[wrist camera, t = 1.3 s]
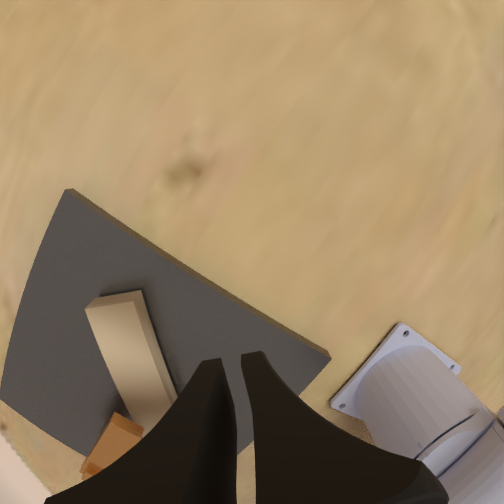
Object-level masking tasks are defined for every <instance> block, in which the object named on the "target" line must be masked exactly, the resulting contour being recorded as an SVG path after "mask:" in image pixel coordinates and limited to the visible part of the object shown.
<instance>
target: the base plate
mask: <svg viewBox="0 0 504 504" xmlns="http://www.w3.org/2000/svg"><path fill="white" fill-rule="evenodd" d="M139 290H141V292H142V295H143V299H144V302H145V305H146V309H147V312H148V315H149V318H150V321H151V324H152V327H153V330H154V333H155V336H156V339H157V342H158V345H159V348H160V351H161V354H162V357H163V360H164V362H165V365H166V368H167V371H168V373H169V376H170V379H171V381H172V384H173V386H174V389H175V392H176V394H177V397H178V396H179V395H180V393H181V392H182V390H183V389H184V387H185V386H186V384H187V383H188V381H189V380H190V378H191V377H192V375H193V374H194V372H195V370H196V369H197V367H198V366H199V364H200V363H201V361H203V360H210V359H216V358H221V359H222V363H223V366H224V370H225V374H226V377H227V381H228V384H229V388H230V391H231V395H232V398H233V402H234V405H235V414H236V423H237V455H238V454H239V453H240V452H241V451H242V450H243V449H245V448H246V447H247V446H248V445H249V444H250V443H251V442H252V441H253V440H254V432H253V418H252V410H251V405H250V401H249V397H248V393H247V389H246V385H245V381H244V377H243V373H242V369H241V354H246V353H251V352H256V351H262V352H264V353H265V355H266V357H267V359H268V361H269V363H270V364H271V366H272V367H273V369H274V370H275V371H276V373H277V374H278V375H279V377H280V378H281V379H282V380H283V381H284V382H285V383H286V385H287V386H288V387H289V388H290V389H291V390H292V391H293V392H294V393H295V394H296V395H297V396H299V395H300V393H301V392H302V391H303V390H304V389H305V388H306V387H307V386H308V385H309V384H310V383H311V382H312V381H313V379H314V378H315V377H316V376H317V375H318V374H319V373H320V372H321V371H322V369H323V368H324V367H325V366H326V365H327V364H328V363H329V361H330V360H331V359H332V358H331V356H330V355H329V353H328V351H327V350H325V349H323V348H321V347H320V346H318V345H316V344H314V343H313V342H311V341H309V340H308V339H306V338H304V337H302V336H301V335H299V334H297V333H296V332H294V331H292V330H290V329H289V328H287V327H285V326H284V325H282V324H280V323H279V322H277V321H275V320H274V319H272V318H270V317H269V316H267V315H265V314H264V313H262V312H260V311H259V310H257V309H255V308H254V307H252V306H250V305H249V304H247V303H245V302H244V301H242V300H241V299H239V298H237V297H236V296H234V295H232V294H231V293H229V292H228V291H226V290H224V289H223V288H221V287H220V286H218V285H216V284H215V283H213V282H212V281H210V280H208V279H207V278H205V277H204V276H202V275H201V274H199V273H197V272H196V271H194V270H193V269H191V268H190V267H188V266H186V265H185V264H183V263H182V262H180V261H179V260H177V259H176V258H174V257H173V256H171V255H170V254H168V253H166V252H165V251H163V250H162V249H160V248H159V247H157V246H156V245H154V244H153V243H151V242H150V241H148V240H147V239H145V238H144V237H142V236H141V235H139V234H138V233H136V232H135V231H133V230H132V229H130V228H129V227H127V226H126V225H125V224H123V223H122V222H120V221H119V220H117V219H116V218H114V217H113V216H111V215H110V214H108V213H107V212H106V211H104V210H103V209H101V208H100V207H98V206H97V205H96V204H94V203H93V202H91V201H90V200H88V199H87V198H86V197H84V196H83V195H81V194H80V193H79V192H77V191H76V190H74V189H73V188H72V189H65V191H64V193H63V195H62V197H61V199H60V201H59V203H58V205H57V208H56V210H55V212H54V214H53V216H52V219H51V221H50V223H49V226H48V228H47V230H46V233H45V235H44V237H43V240H42V242H41V245H40V247H39V250H38V253H37V255H36V258H35V260H34V263H33V266H32V269H31V272H30V274H29V277H28V280H27V283H26V286H25V289H24V292H23V295H22V299H21V302H20V305H19V309H18V312H17V316H16V319H15V323H14V327H13V330H12V334H11V338H10V342H9V347H8V351H7V356H6V360H5V365H4V370H3V376H2V381H1V387H0V399H1V400H2V401H3V402H5V403H6V404H7V405H8V406H10V407H11V408H12V409H14V410H15V411H16V412H18V413H19V414H20V415H22V416H23V417H24V418H26V419H27V420H29V421H30V422H31V423H33V424H34V425H36V426H37V427H39V428H40V429H42V430H43V431H45V432H46V433H48V434H49V435H51V436H52V437H54V438H55V439H57V440H59V441H60V442H62V443H63V444H65V445H67V446H68V447H70V448H72V449H73V450H75V451H77V452H79V453H80V454H82V455H84V456H86V459H85V461H84V462H83V465H82V467H81V470H80V473H82V474H83V476H82V480H84V481H85V480H87V479H88V478H90V477H92V476H93V475H95V474H97V473H98V472H100V471H101V470H103V469H104V468H106V467H107V466H109V465H110V464H112V463H113V462H115V461H116V460H117V459H118V458H120V457H121V456H122V455H123V454H125V453H126V452H127V451H128V450H130V449H131V448H132V447H133V446H135V445H136V444H137V443H138V442H139V441H140V440H141V439H142V434H143V430H144V427H142V426H140V425H138V424H136V423H135V422H134V421H133V419H132V417H131V415H130V413H129V411H128V409H127V407H126V405H125V403H124V401H123V399H122V397H121V395H120V393H119V391H118V389H117V387H116V385H115V383H114V380H113V378H112V376H111V374H110V372H109V369H108V367H107V365H106V362H105V360H104V358H103V355H102V353H101V351H100V348H99V346H98V343H97V341H96V338H95V336H94V333H93V330H92V328H91V325H90V322H89V320H88V317H87V314H86V311H85V308H86V307H87V306H88V305H89V304H90V303H91V302H92V301H93V300H94V299H95V298H98V297H104V296H110V295H116V294H122V293H127V292H133V291H139Z"/></svg>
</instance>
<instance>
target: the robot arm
mask: <svg viewBox="0 0 504 504" xmlns="http://www.w3.org/2000/svg"><path fill="white" fill-rule="evenodd" d="M405 331H407V332H406V333H405V334H404V335H403V333H404V332H405ZM241 369H242V373H243V377H244V381H245V385H246V389H247V393H248V397H249V401H250V405H251V410H252V418H253V432H254V449H255V473H256V504H504V406H502V407H501V408H500V409H499V411H498V412H497V415H496V414H495V413H493V412H492V411H491V410H489V409H488V408H487V406H486V405H485V404H484V403H483V402H482V401H481V400H480V399H479V398H478V397H477V396H476V395H475V394H474V393H473V392H472V391H471V390H470V389H469V388H468V387H467V386H466V385H465V384H464V383H463V382H462V381H461V380H460V379H459V378H458V377H457V375H458V374H459V373H460V371H461V366H460V365H459V364H457V363H456V362H455V361H453V360H452V359H451V358H450V357H448V356H447V355H446V354H444V353H443V352H442V351H441V350H439V349H438V348H437V347H435V346H434V345H433V344H431V343H430V342H429V341H427V340H426V339H425V338H423V337H422V336H421V335H420V334H418V333H417V332H416V331H414V330H413V329H412V328H410V327H409V326H408V325H406V324H405V323H403V322H400V323H398V324H397V325H396V326H395V327H394V328H393V330H392V331H391V332H390V333H389V335H388V336H387V337H386V338H385V340H384V341H383V342H382V343H381V344H380V346H379V347H378V348H377V349H376V350H375V352H374V353H373V354H372V355H371V356H370V358H369V359H368V360H367V361H366V362H365V363H364V364H363V366H362V367H361V368H360V369H359V370H358V371H357V372H356V374H355V375H354V376H353V377H352V378H351V379H350V380H349V381H348V382H347V383H346V385H345V386H344V387H343V388H342V389H341V390H340V391H339V392H338V393H337V394H336V395H335V396H334V397H333V398H332V399H331V401H330V405H331V407H332V408H333V409H336V410H338V411H340V412H343V413H345V414H347V415H350V416H352V417H355V418H357V419H360V420H362V421H364V423H365V425H366V427H367V429H368V431H369V433H370V435H371V437H372V439H373V441H374V443H375V445H376V446H377V447H376V446H374V445H371V444H369V443H367V442H365V441H363V440H361V439H359V438H357V437H355V436H353V435H351V434H349V433H348V432H346V431H344V430H342V429H340V428H338V427H337V426H335V425H334V424H332V423H331V422H329V421H328V420H326V419H325V418H323V417H322V416H321V415H319V414H318V413H317V412H315V411H314V410H313V409H312V408H310V407H309V406H308V405H307V404H306V403H305V402H303V401H302V400H301V399H300V398H299V397H298V396H297V395H296V394H295V393H294V392H293V391H292V390H291V389H290V388H289V387H288V386H287V385H286V383H285V382H284V381H283V380H282V379H281V378H280V377H279V375H278V374H277V373H276V371H275V370H274V369H273V367H272V366H271V364H270V363H269V361H268V359H267V357H266V355H265V353H264V352H262V351H256V352H251V353H246V354H241ZM341 404H343V405H341ZM340 405H341V406H340ZM236 470H237V423H236V414H235V405H234V402H233V398H232V395H231V391H230V388H229V384H228V381H227V377H226V374H225V370H224V366H223V363H222V359H221V358H216V359H210V360H203V361H201V363H200V364H199V366H198V367H197V369H196V370H195V372H194V374H193V375H192V377H191V378H190V380H189V381H188V383H187V384H186V386H185V387H184V389H183V390H182V392H181V393H180V395H179V396H178V397H177V399H176V400H175V402H174V403H173V404H172V406H171V407H170V408H169V409H168V411H167V412H166V413H165V414H164V416H163V417H162V418H161V419H160V421H159V422H158V423H157V424H156V425H155V426H154V427H153V428H152V429H151V431H149V432H148V433H147V434H146V435H145V436H144V437H143V438H142V439H141V440H140V441H139V442H138V443H137V444H136V445H135V446H133V447H132V448H131V449H130V450H128V451H127V452H126V453H125V454H123V455H122V456H121V457H120V458H118V459H117V460H116V461H115V462H113V463H112V464H110V465H109V466H107V467H106V468H104V469H103V470H101V471H100V472H98V473H97V474H95V475H93V476H92V477H90V478H88V479H87V480H85V481H83V482H81V483H79V484H77V485H75V486H73V487H71V488H69V489H67V490H64V491H62V492H60V493H58V494H55V495H53V496H51V497H48V498H46V500H45V502H44V504H237V499H236Z"/></svg>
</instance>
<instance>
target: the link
mask: <svg viewBox="0 0 504 504" xmlns="http://www.w3.org/2000/svg"><path fill="white" fill-rule="evenodd" d="M85 311H86V314H87V317H88V320H89V322H90V325H91V328H92V330H93V333H94V336H95V338H96V341H97V343H98V346H99V348H100V351H101V353H102V355H103V358H104V360H105V362H106V365H107V367H108V369H109V372H110V374H111V376H112V378H113V380H114V383H115V385H116V387H117V389H118V391H119V393H120V395H121V397H122V399H123V401H124V403H125V405H126V407H127V409H128V411H129V413H130V415H131V417H132V419H133V421H134V422H135V423H136V424H138V425H140V426H142V427H144V430H143V434H142V438H143V437H144V436H145V435H146V434H147V433H148V432H149V431H151V429H152V428H153V427H154V426H155V425H156V424H157V423H158V422H159V421H160V419H161V418H162V417H163V416H164V414H165V413H166V412H167V411H168V409H169V408H170V407H171V406H172V404H173V403H174V402H175V400H176V399H177V394H176V392H175V389H174V386H173V384H172V381H171V379H170V376H169V373H168V371H167V368H166V365H165V362H164V360H163V357H162V354H161V351H160V348H159V345H158V342H157V339H156V336H155V333H154V330H153V327H152V324H151V321H150V318H149V315H148V312H147V309H146V305H145V302H144V299H143V295H142V292H141V290H139V291H133V292H127V293H122V294H116V295H110V296H104V297H98V298H95V299H94V300H93V301H92V302H91V303H90V304H89V305H88V306H87V307H86V308H85Z"/></svg>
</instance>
